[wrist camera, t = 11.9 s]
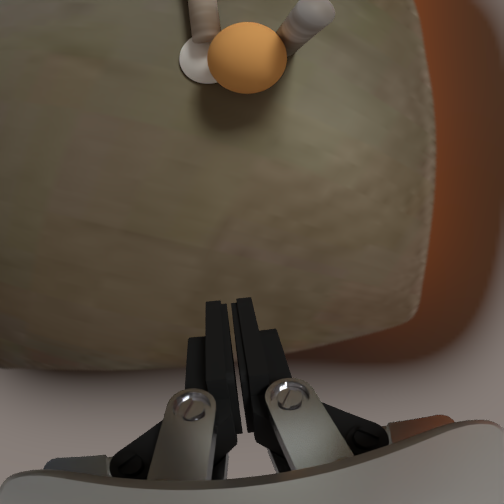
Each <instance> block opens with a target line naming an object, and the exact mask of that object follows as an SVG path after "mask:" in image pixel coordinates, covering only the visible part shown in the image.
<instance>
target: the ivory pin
mask: <svg viewBox="0 0 504 504" xmlns="http://www.w3.org/2000/svg"><path fill="white" fill-rule="evenodd" d="M188 7H189V16H190V24H191V33H192V41H193V42H194V43H206V42H212V40H213V39H214V38H215V36H216V35H217V34H218V33H219V32H220V31H221V27H220V20H219V13H218V5H217V0H188Z"/></svg>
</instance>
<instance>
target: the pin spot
mask: <svg viewBox="0 0 504 504" xmlns="http://www.w3.org/2000/svg"><path fill="white" fill-rule="evenodd" d="M210 44H211V42H206V43H194V42H193V41H192V38H190V39H189V40H188V41H187V42H186V43H185V44H184V46H183V47H182V49H181V52H180V57H179V61H180V66H181V68H182V70H183V72H184V73H185V75H186V76H187V77H189V78H190V79H192V80H193V81H196V82H199V83H204V84H211V83H217V81H216V80H215V79H214V77H213V76H212V74H211V73H210V70H209V67H208V62H207V54H208V49H209V46H210Z"/></svg>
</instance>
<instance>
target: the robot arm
mask: <svg viewBox="0 0 504 504" xmlns="http://www.w3.org/2000/svg"><path fill="white" fill-rule="evenodd" d="M236 300H237V303H231V306H232V315H233V324H234V333H235V342H236V351H237V359H238V367H239V374H240V382H241V389H242V396H243V404H244V410H245V417H246V424H247V431H248V433H250V432H254V436H255V440H256V442H257V443H259V444H261V445H262V446H264V447H266V448H267V450H268V454H269V456H270V459H271V461H272V464H273V466H274V468H275V471H276V474H270V475H263V476H255V477H246V478H236V479H227V471H228V460H229V456H228V452H229V451H230V450H231V449H232V448H233V447H234V446H236V445H237V434H241V433H243V432H242V426H241V417H240V410H239V401H238V393H237V386H236V377H235V369H234V360H233V352H232V344H231V336H230V328H229V320H228V312H227V304H221V301H209V302H206V336H204V337H192V338H189V339H188V349H187V364H186V381H185V390H182V391H180V392H178V393H176V394H175V395H174V396H173V397H172V398H171V399H170V400H169V402H168V404H167V408H166V411H165V414H164V419H163V420H162V421H161V422H159V423H158V424H156V425H155V426H154V427H153V428H151V429H150V430H148V431H147V432H146V433H144V434H143V435H141V436H140V437H139V438H137V439H136V440H134V441H133V442H132V443H130V444H129V445H127V446H126V447H124V448H123V449H122V450H120V451H119V452H117V453H116V454H115V455H114V456H113V457H107V456H106V455H98V456H86V457H69V458H56V459H52V460H50V461H49V462H47V463H46V465H45V466H44V469H43V470H30V471H24V472H20V473H17V474H14V475H12V476H10V477H8V478H7V479H6V480H5V481H4V482H3V484H2V485H1V487H0V504H504V428H502V427H501V426H500V425H498V424H497V423H495V422H492V421H489V420H466V421H460V422H454V420H453V419H451V418H450V417H449V416H446V415H433V416H428V417H422V418H417V419H411V420H405V421H397V422H390V423H388V424H387V426H380V425H378V424H376V423H374V422H371V421H368V420H366V419H363V418H360V417H358V416H355V415H352V414H350V413H347V412H344V411H342V410H339V409H337V408H335V407H332V406H330V405H327V404H325V403H322V402H321V401H320V399H319V398H318V396H317V394H316V393H315V391H314V389H313V388H312V387H311V386H310V385H309V384H308V383H307V382H305V381H303V380H300V379H296V378H292V377H291V373H290V371H289V367H288V365H287V361H286V358H285V355H284V351H283V348H282V345H281V342H280V339H279V336H278V332H277V330H276V329H269V330H261V331H259V329H258V325H257V321H256V316H255V312H254V308H253V304H252V299H251V297H248V298H239V299H236Z"/></svg>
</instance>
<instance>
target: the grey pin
mask: <svg viewBox="0 0 504 504" xmlns="http://www.w3.org/2000/svg"><path fill="white" fill-rule="evenodd" d="M334 17H335V10H334V7H333V5H332V4H331V3H330V2H329V1H328V0H299V1H298V3H297V4H296V5H295V7H294V8H293V9H292V11H291V12H290V13H289V15H288V16H287V18H286V19H285V20H284V22H283V23H282V25H281V26H280V27H279V29H278V30H277V32H276V34H277V35H278V36H279V37H280V38H281V40H282V41H283V43H284V45H285V48H286V53H287V56H290V55H292V54H294V53H295V52H296V51H297V50H298V49H299V48H301V47H302V46H303V45H304V44H305V43H306V42H308V41H309V40H310V39H311V38H312V37H313V36H315V35H316V34H317V33H318V32H319V31H321V30H322V29H323V28H324V27H326V26H327V25H328V24H329V23H331V22H332V21H333V19H334Z"/></svg>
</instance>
